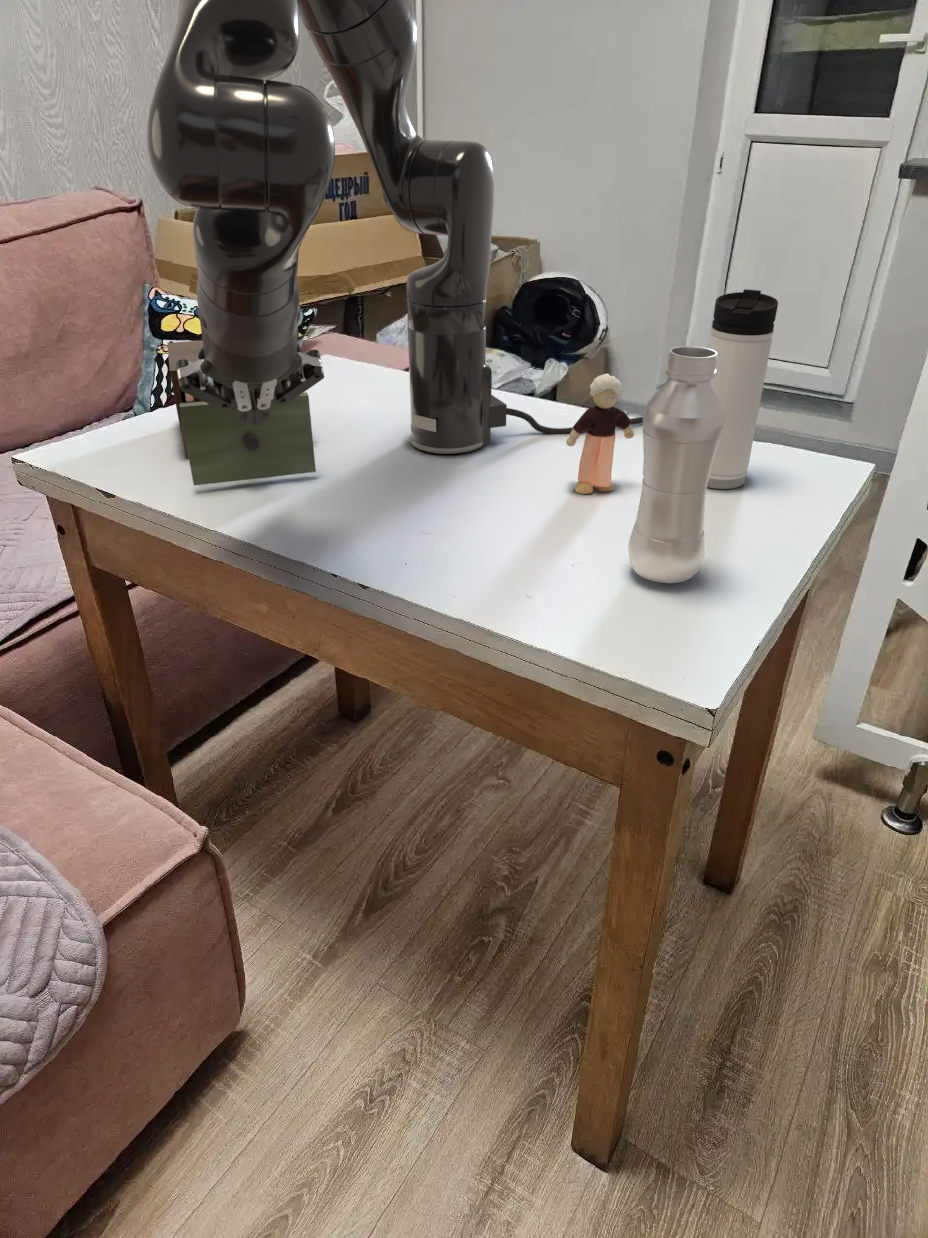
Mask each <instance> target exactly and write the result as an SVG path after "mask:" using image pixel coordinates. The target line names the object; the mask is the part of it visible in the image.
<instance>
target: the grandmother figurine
mask: <svg viewBox="0 0 928 1238" xmlns="http://www.w3.org/2000/svg"><path fill="white" fill-rule="evenodd" d="M589 389H590V392H589V394H590V396H591V397H592V399H593V403H594V406H592V407H588V408H587V409H586V410H585V411H584V412H583V414H582V415H581V416H580V417H579V418H578V420H577V421H576V422H575V423H574V425H573V426H572V427H573V429H572V431H571V433H570V434H569V436H568V437H567V438H566V441H565V442H566V445H567V446H568V447H574V446H575V445H576V443H577V440H578V439H579V438H580V436H581V434H583V433H586V434H585V437H584V442H583V446H582V451H581V455H580V459H579V465H578V473H577V482H576V483H575V485H574V490H575V492H576V493H578V494H582V495H588V494H592V493H593V492H594V488H595V489H596V490H598V491H600V492H610V491H613V490H614V484H613V483H612V473H613V461H614V454H615V453H614V451H615V445H616V444H615V443H616V427H617V428H618V429H620V430H622V432H623V435H624V437H625V438H626V439H633V438H634V436H635V432H634V430H633V427H632V426H633V425H631V420H630V419H631V418H630V417H629V416H628V414H627V413H626V412H625V411H624V410H622V409H621V408H618V407H616V406H615V405H616V403H617V400H618V398H619V396H621V392H623V386H622V384H621V381H620V380H619V379H618V378H616V377H615V376H614V375H610V374H609V373H604V374H602V375H598V376H596V377H594V379H593V381H592V382H591V384H590V385H589ZM585 431H587V432H585Z"/></svg>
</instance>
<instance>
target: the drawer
mask: <svg viewBox="0 0 928 1238" xmlns="http://www.w3.org/2000/svg"><path fill="white" fill-rule="evenodd" d="M289 386H290V381H288V382H287V387H288V388H289ZM214 390H215V389H214ZM215 392H216V390H215ZM185 396H186V403H180V411H181V417H182V422H183V428H184V433H185V439H186V445H187V450H188V456H189V458H188V461H189V465H190V466H189V467H190V473H191V477H192V484H193V486H202V485H211V484H218V483H219V484H221V483H229V482H237V481H238V482H239V481H247V480H254V479H255V480H256V479H263V478H265V479H266V478H273V477H282V476H289V475H290V476H291V475H298V474H306V473H307V474H308V473H316V471H317V469H316V460H315V450H314V437H313V428H312V418H311V407H310V397H309V394H308V392H307V391H305V392H303V393H302V394H301V395H299V396H298V397H296V398H295V399H293V400H292V401H291V402H289V403H287V404H284V405H281V404H278V403H277V401H276V402H273V403H271V405H270V408H269V419H268V420H267V421H263V426H259V427H247V423H241V422H240V421H239V416H238V411H237V407H236V406H232V407H231V408H230V409H228V410H220V409H218V408H216V407H214V406H212V405H210V404H208V403H206V402H204V401H202V400H200V399H197V398H195V397H193V396H191V395H189V394H187V393H185Z"/></svg>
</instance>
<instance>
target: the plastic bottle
mask: <svg viewBox="0 0 928 1238" xmlns="http://www.w3.org/2000/svg"><path fill="white" fill-rule="evenodd" d="M716 362H717V352H716V351H714V350H711V349H708V347H702V346H677V347H673V348H671V349H670V350H669V353H668V359H667V365H666V367H665V370H664V374H665V376H667V380H666V381H665V382H664V383H663V384H662V385H661V387H659V389H658V390H657V391H656V392H655V393H653V395H652V396H651V398H649V400H648V401H647V403H646V406H645V408H644V411H643V413H642V417H643V423H641V424H642V445H643V449H642V450H643V466H642V476H643V477H642V480H641V481H642V483H641V493H640V497H639V503H638V507H637V513H636V518H635V521H634V525H633V527H632V529H631V533H630V535H629V536H630V538H629V540H628V544H627V548H628V549H627V551H628V561H629V564H630V565H631V568H632V569H633V571H634V572H635V573H636V574H637V575H638V576H639V577H641V578H644V579H646V580H648V581H650V582H651V581H652V582H655V583H661V584H678V583H679V584H680V583H683V582H686V581H688V580H690V579H691V578H693V577H694V576H695V575H696V574H697V573H698V572H699V571H700V569H701V565H702V563H703V561H704V557H705V549H706V548H705V547H706V544H705V543H706V539H705V530H704V526H705V525H704V524H705V509H706V496H707V489H708V487H707V486H708V484H707V482H708V481H709V476H710V472H711V467H712V463H713V460H714V457H715V453H716V450H717V447H718V444H719V441H720V437H721V433H722V431H723V426H724V422H725V418H724V411H723V408H722V405H721V403H720V401H719V398H718V396H717V395H716V393H715V391H714V389H713V387H712V386H711V379H713V378H715V375H716V369H715V367H716Z"/></svg>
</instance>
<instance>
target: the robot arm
mask: <svg viewBox="0 0 928 1238" xmlns="http://www.w3.org/2000/svg"><path fill="white" fill-rule="evenodd" d="M300 21H301V22H302V24H303V27H304V28H305V30H306V32H307V34H308V36H309V39H310V41H311V42H312V45H313V46H314V48H315V50H316V52H317V54H318V55H319V58H320V59H321V61H322V62H323V64H324V66H325V67H326V69H327V71H328V73H329V75H330V77H331V78H332V80H333V82H334V84H335V86H336V88H337V90H338V92H339V94H340V96H341V98H342V100H343V102H344V104H345V107H346V109H347V110H348V112H349V115H350V116H351V118H352V119H351V120H353V123H354V125H355V127H356V130H357V132H358V133H359V135H360V138H361V140H362V143H363V145H364V148H365V150H366V152H367V155H368V158H369V160H370V163H371V165H372V168H373V170H374V173H375V175H376V178H377V181H378V183H379V187H380V188H381V191H382V193H383V196H384V199H385V200H386V203H387V205H388V207H389V209H390V211H391V213H392V215H393V217H394V219H395V220H396V221H397V223H398V224H399V225H400V226H401V227H402V228H404V229H405V230H406V231H409V232H411V233H415V234H421V235H431V236H446V237H447V243H446V244H447V245H446V250H445V254H444V256H443V257H442V258H441V259H439V260H437V261H436V262H433V263H432V264H428V265H426V266H423V267H419V268H417V269H414V270H413V271H411V272H410V273H409V274H408V275H407V278H406V313H407V314H406V315H407V340H408V341H407V343H408V346H407V347H408V368H409V369H408V372H409V373H408V374H409V375H408V376H409V401H410V402H409V404H410V443H411V445H412V446H413V447H414V448H415V449H417V450H420V451H423V452H426V453H430V454H439V455H455V454H464V453H465V454H466V453H469V452H473V451H477V450H478V449H480V448H482V446H483V447H484V446H488V445H491V442H492V441H491V440H492V439H491V438H492V437H491V436H492V435H491V433H492V429H494V428H502V427H507V416H511V417H516V418H520V419H522V420H524V421H526V422H527V423H528V424H529V426H531V428H533V429H534V430H535V431H537V432H539V433H543V434H547V435H570V433H571V431H572V429H573V426H572V427H563V428H561V427H560V428H557V427H556V428H555V427H549V426H544V425H541V424H539V422H537V420H536V419H535V418H534V417H533V416H532V415H530V413H529V414H528V413H527V412H524V411H522V410H519V409H514V408H510V407H508V405H507V404H506V403H505V402H503V401H502V400H501V399H499V398H497V397H496V396H494V394H492V388H493V387H492V383H493V381H492V379H493V370H492V367H490V366H489V365H488V364H486V357H487V356H486V353H487V351H486V350H487V349H486V348H487V347H486V344H487V340H486V339H487V295H488V293H487V291H488V290H487V289H488V287H487V286H488V281H489V275H490V268H491V253H492V234H493V220H494V219H493V218H494V206H495V173H494V166H493V161H492V158H491V155H490V154H489V151H488V149H487V148H486V147H485V146H484V145H483V144H482V143H480V142H477V141H471V140H445V139H444V140H442V139H440V140H438V139H424V138H423V137H421V136H420V135H419V134H418V133H417V131H416V130H415V128H414V126H413V124H412V121H411V119H410V116H409V114H408V110H407V107H406V97H407V92H408V87H409V83H410V79H411V76H412V71H413V67H414V63H415V57H416V54H417V45H418V23H417V19H416V14H415V10H414V7H413V4H412V1H411V0H178V10H177V17H176V23H175V28H174V31H173V35H172V38H171V41H170V45H169V49H168V52H167V55H166V58H165V60H164V63H163V65H162V68H161V71H160V72H159V76H158V79H157V82H156V84H155V87H154V90H153V94H152V98H151V101H150V105H149V109H148V115H147V116H148V117H147V124H146V146H147V152H148V158H149V162H150V165H151V168H152V171H153V174H154V176H155V177H156V179H157V181H158V182H159V184H160V186H161V187H162V189H164V191H165V192H166V193H167V194H168V195H169V196H170V197H171V198H172V199H173V200H175V201H176V202H177V203H179V204H181V205H183V206H187V207H191V208H194V209H195V208H196V211H195V213H194V217H193V222H192V223H193V224H192V241H193V247H194V255H195V263H196V271H197V279H196V301H197V308H198V312H197V313H198V314H197V316H198V320H199V324H200V331H201V332H200V333H201V340H203V347H202V348H201V350H200V351H199V354H198V358H199V360H197V361H195V362H193V363H192V362H191V361H189V360H186V359H182V360H178V361H177V362H176V367H177V375H178V381H179V386H180V390H181V391H183V392H185V393H187V394H189V395H191V396H193V397H195V398H197V399H200V400H202V401H204V402H206V403H208V404H210V405H212V406H214V407H216V408H218V409H220V410H228V409H230V408H231V407H232V406H236V407H237V411H238V416H239V421H240V422H241V423H247V427H259V426H263V421H267V420H268V419H269V408H270V405H271V403H273V402H276V401H277V403H278V404H281V405H284V404H287V403H289V402H291V401H292V400H293V399H295V398H296V397H298V396H299V395H301V394H302V393H304V392H307V391H308V390H310V389H311V388H312V387H314V386H315V385H317V384H318V383H319V382H320V381H322V380H324V379H325V373H324V368H323V363H322V359H321V353H320V351H319V350H318V349H310V350H307V351H306V352H301V347H300V345H299V343H298V335H299V332H298V331H299V321H300V319H301V306H300V291H299V285H298V273H299V272H298V270H299V253H300V248H301V245H302V243H303V241H304V238H305V236H306V234H307V233H308V231H309V229H310V227H311V225H312V224H313V222H314V220H315V218H316V217H317V214H318V213H319V211H320V209H321V206H322V205H323V202H324V200H325V198H326V195H327V192H328V190H329V186H330V183H331V180H332V176H333V172H334V166H335V165H334V164H335V157H336V144H335V143H336V142H335V133H334V128H333V125H332V122H331V119H330V116H329V114H328V112H327V111H326V109H325V107H324V105H323V103H322V102H321V100H319V98H318V97H317V95H315V94H314V93H313V92H312V91H310V90H309V89H307V88H306V87H304V86H302V85H299V84H295V83H292V82H288V81H287V82H285V81H281V80H280V81H279V80H273V79H275V78H277V77H279V76H280V75H282V74H284V73H285V72H286V71H287V70H288V69H289V68H290V67H291V65H292V64H293V63H294V61H295V59H296V57H297V54H298V53H297V52H298V49H299V43H300V42H299V41H300ZM288 381H290V386H289V388H288V387H287V382H288ZM214 389H215V390H216V392H215V390H214ZM630 420H631V426H634V425H640V424H642V423H643V416H639V417H632V418H630ZM616 428H617V427H616ZM584 433H587V431H585V432H584Z"/></svg>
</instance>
